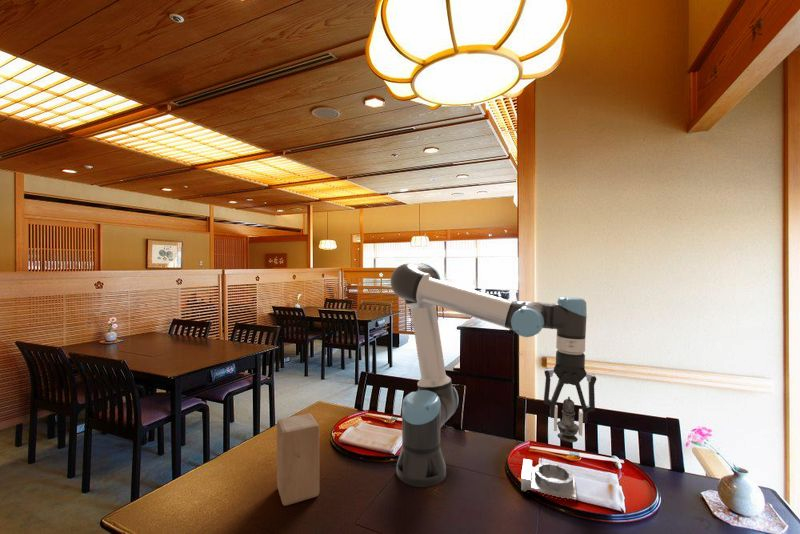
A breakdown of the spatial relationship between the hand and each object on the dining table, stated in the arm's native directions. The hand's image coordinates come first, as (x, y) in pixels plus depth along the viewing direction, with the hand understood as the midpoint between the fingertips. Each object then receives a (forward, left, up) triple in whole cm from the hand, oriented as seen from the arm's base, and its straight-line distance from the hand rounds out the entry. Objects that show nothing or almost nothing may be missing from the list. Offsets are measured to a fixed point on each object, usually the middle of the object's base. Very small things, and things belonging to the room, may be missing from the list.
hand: (567, 431), depth 103 cm
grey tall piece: (0, 0, -2) cm, 2 cm away
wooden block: (-70, -32, -16) cm, 79 cm away
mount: (-5, -2, -16) cm, 17 cm away
